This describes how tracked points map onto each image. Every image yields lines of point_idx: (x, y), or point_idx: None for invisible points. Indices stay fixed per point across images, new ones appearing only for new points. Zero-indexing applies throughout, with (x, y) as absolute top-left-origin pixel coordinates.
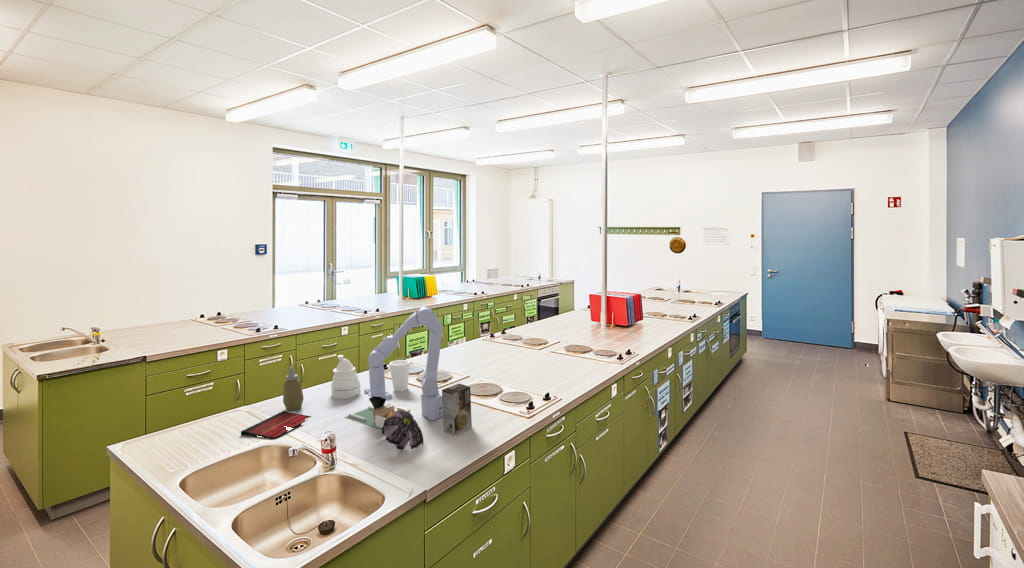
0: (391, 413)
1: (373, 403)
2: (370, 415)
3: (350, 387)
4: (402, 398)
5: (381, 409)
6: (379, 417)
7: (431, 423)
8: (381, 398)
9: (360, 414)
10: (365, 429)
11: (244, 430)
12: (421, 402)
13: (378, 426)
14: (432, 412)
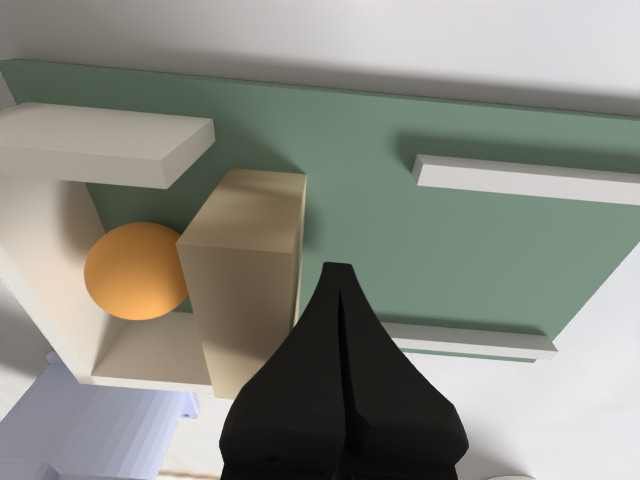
0: (106, 293)
1: (360, 360)
2: (449, 267)
3: None
4: None
5: (210, 303)
6: (58, 149)
7: (21, 327)
8: (223, 474)
9: (558, 251)
10: (280, 24)
11: None
12: (107, 458)
13: (162, 115)
14: (42, 397)
